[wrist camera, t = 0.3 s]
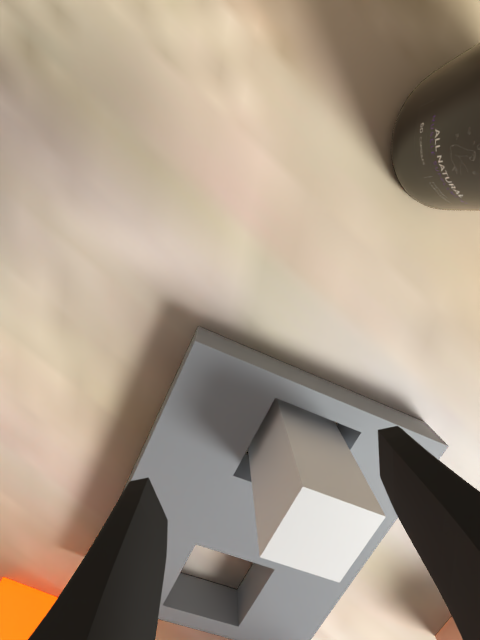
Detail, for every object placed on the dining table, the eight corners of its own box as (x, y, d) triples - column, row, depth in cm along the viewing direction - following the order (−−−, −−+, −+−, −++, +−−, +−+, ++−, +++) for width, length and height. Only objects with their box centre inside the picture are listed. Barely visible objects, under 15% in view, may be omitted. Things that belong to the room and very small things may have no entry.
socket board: (291, 619, 28) (318, 773, 20) (91, 560, 25) (34, 711, 18) (425, 422, 23) (524, 524, 16) (198, 326, 21) (184, 392, 13)
